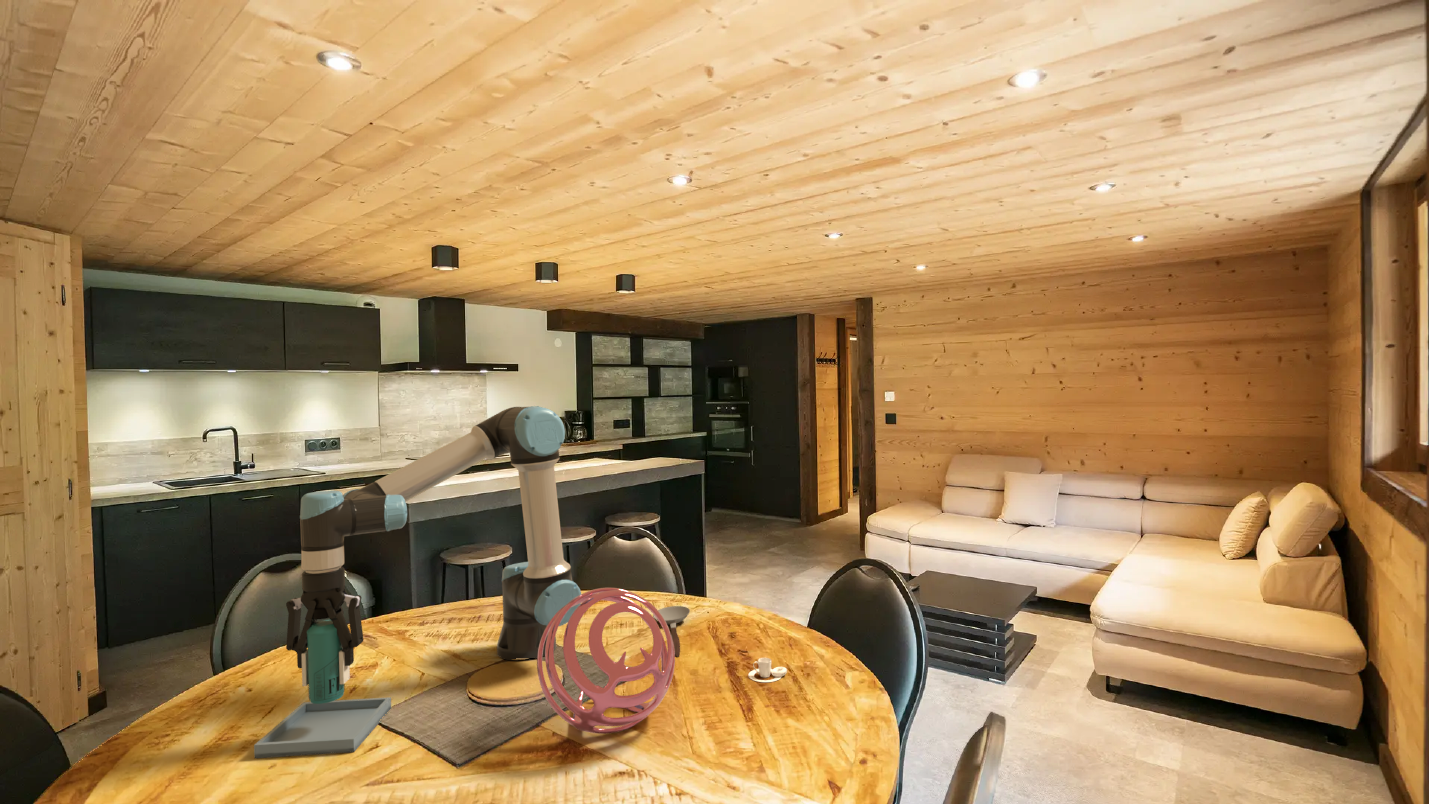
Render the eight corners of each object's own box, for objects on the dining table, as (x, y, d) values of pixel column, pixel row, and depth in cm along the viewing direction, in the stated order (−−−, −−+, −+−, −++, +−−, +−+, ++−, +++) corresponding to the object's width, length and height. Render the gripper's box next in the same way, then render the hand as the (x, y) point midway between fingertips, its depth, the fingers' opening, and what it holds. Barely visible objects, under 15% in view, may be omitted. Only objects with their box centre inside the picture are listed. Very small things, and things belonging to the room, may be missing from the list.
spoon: (689, 613, 206) (688, 603, 206) (699, 660, 173) (698, 648, 173) (653, 618, 205) (652, 609, 204) (657, 666, 172) (655, 655, 172)
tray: (391, 708, 147) (390, 697, 147) (354, 752, 129) (353, 739, 129) (304, 713, 145) (303, 702, 145) (254, 758, 127) (254, 745, 127)
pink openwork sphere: (529, 608, 152) (563, 559, 133) (645, 619, 163) (693, 576, 144) (515, 745, 135) (552, 712, 116) (646, 748, 146) (699, 718, 127)
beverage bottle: (328, 713, 133) (326, 611, 133) (299, 710, 135) (297, 610, 134) (352, 698, 140) (350, 601, 139) (325, 696, 141) (322, 600, 141)
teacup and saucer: (789, 673, 162) (789, 656, 162) (778, 687, 154) (778, 669, 154) (755, 668, 165) (755, 651, 165) (743, 681, 158) (742, 663, 158)
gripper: (380, 562, 141) (383, 672, 142) (283, 566, 140) (286, 677, 140) (365, 571, 134) (368, 687, 134) (262, 575, 132) (265, 693, 133)
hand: (326, 682), depth 137 cm, fingers closed on beverage bottle, 6 cm apart
